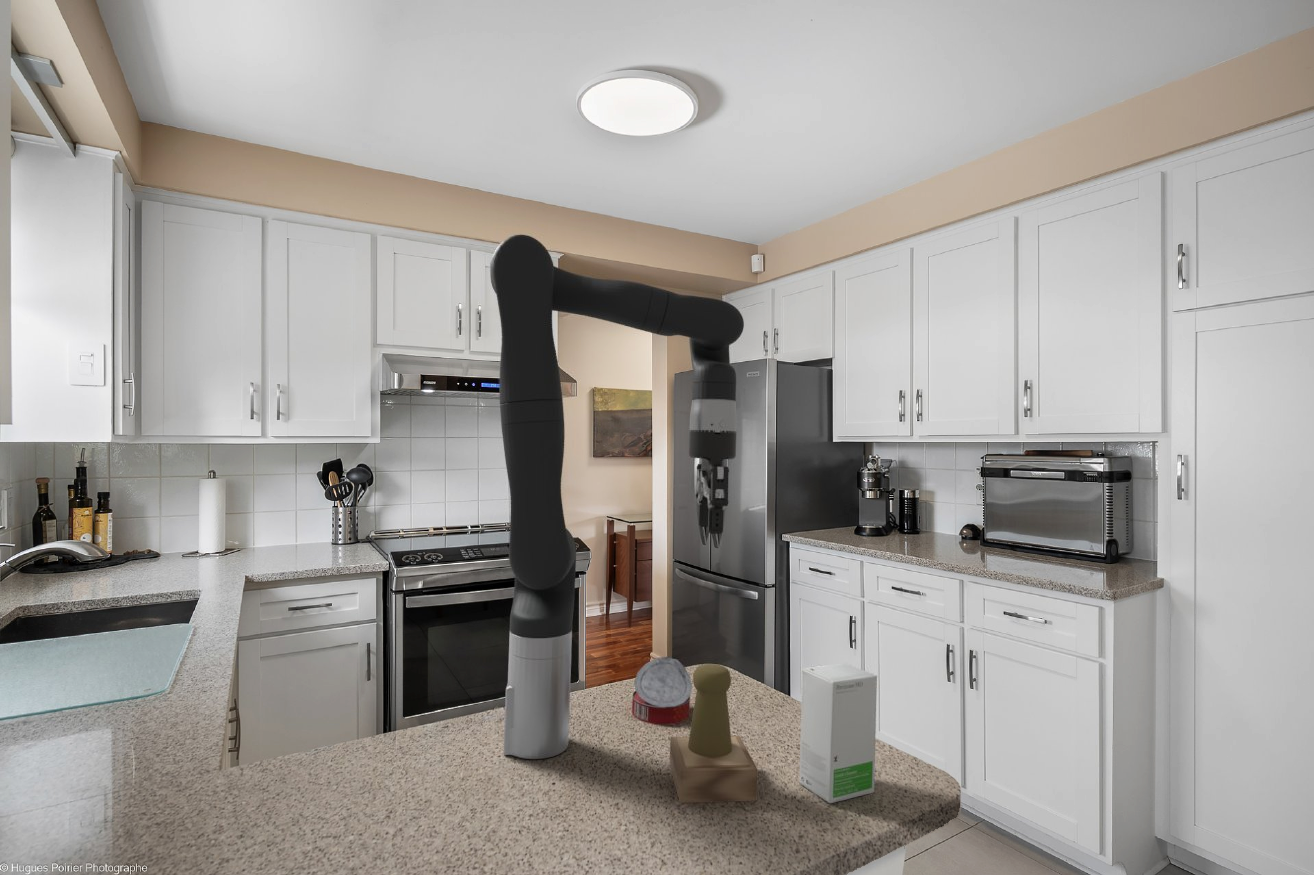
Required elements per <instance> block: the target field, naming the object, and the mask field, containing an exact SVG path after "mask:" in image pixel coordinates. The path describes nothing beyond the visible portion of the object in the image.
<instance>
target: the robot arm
mask: <svg viewBox="0 0 1314 875" xmlns="http://www.w3.org/2000/svg"><path fill="white" fill-rule="evenodd" d="M489 270H490V272H489V273H490V283H491V286H492V289H493V290H494V293H495V294H496V298H497V299H496V300H497V305H498V312H499V313H498V314H499V320H500V328H501V330H500V331H501V345H500V346H501V347H500V361H499V362H500V363H499V409H500V423H501V424H500V426H501V434H502V442H503V451H504V459H505V467H506V472H507V473H506V474H507V479H508V480H507V481H508V485H509V486H508V487H509V493H510V494H509V497H510V498H509V499H510V514H509V516H510V517H509V518H510V521H509V522H510V524H509V525H510V528H509V548H508V561H509V566H510V569H511V570H512V573H513V575H514V592H513V598H512V605H511V608H510V610H511V611H510V615H509V641H508V644H509V646H508V668H507V669H508V670H507V684H506V687H505V702H504V729H503V730H504V732H503V734H504V736H503V755H504V756H513V757H516V758H520V759H527V760H528V759H529V760H538V759H539V760H543V759H547V758H552V757H555V756H557V755H560V754H562V753H563V752H564V751H566V750H567V748H568V746H569V736H570V709H571V708H570V705H571V704H570V703H571V675H572V674H571V669H572V643H573V642H572V639H573V621H574V620H573V618H574V609H575V608H574V607H575V592H576V591H575V590H576V568H577V566H576V565H577V546H576V542H575V539H574V537H573V535H572V533H571V532H570V531H569V529H568V528H567V526H566V522H565V516H564V515H565V514H564V508H563V499H562V478H563V477H562V474H563V465H564V456H565V455H564V454H565V436H566V435H565V414H564V412H565V411H564V402H563V401H564V398H563V392H562V383H561V375H560V374H561V373H560V369H559V361H558V356H557V352H556V351H557V350H556V345H555V340H554V339H555V338H554V333H553V332H554V330H553V312H555V311H556V312H561V313H568V314H574V315H579V316H585V317H589V318H594V319H598V320H601V321H605V322H606V321H607V322H610V323H613V324H616V325H620V326H624V327H628V328H632V329H636V330H640V331H643V332H647V333H651V334H655V335H659V336H665V337H674V336H681V337H686V338H689V351H690V358H691V365H692V372H693V376H692V388H691V389H692V390H691V392H692V394H691V395H692V396H691V406H690V412H689V414H690V415H689V433H688V434H689V437H688V438H689V439H688V440H689V441H688V442H689V443H688V456H689V457H690V458H692V459H701V463H697V466H696V484H695V485H696V486H695V487H696V488H695V489H696V490H695V498H696V499H697V504H698V520H697V521H698V522H697V523H698V526H699V527H700V528H707V532H708V533H709V534H710V535H720V534H722V533H723V532H724V510H725V509H726V507H728V505H729V472H730V469H729V467H728V466H724V462H723V461H724V460H734V459H735V458H736V456H737V430H738V429H737V423H738V422H737V420H738V414H737V406H736V405H737V404H736V400H737V373H736V370H735V368H734V366H732V365H731V361H730V359H731V358H730V346H731V345H732V344H734V343H735V342H736V341H738V340H739V338H740V337H741V336H742V334H743V331H744V329H745V328H744V327H745V323H744V322H745V321H744V317H743V315H742V313H741V311H740V310H739V309H738V308H737V307H736V306H734V305H733V304H732V303H729V302H727V301H724V300H721V299H717V298H712V297H706V296H697V295H691V294H689V295H688V294H680V293H675V292H673V291H671V290H667V289H663V288H660V287H658V286H657V287H656V286H653V285H649V284H645V283H640V282H636V281H630V280H622V279H608V278H607V279H606V278H598V277H596V278H595V277H590V276H584V275H579V274H576V273H573V272H570V271H567V270H564V269H562V268H559V267H557V266H554V262H553V259H552V257H551V254H550V253H549V251H548V249H547V248H546V247H545V246H544V244H542V243H541V241H539V240H538V239H536V238H535V237H533V236H530V235H527V234H513V235H511V236H509V237H507V238H506V239H504V240H503V241H502V242H500V243H499V245H497V247H496V249H495V250H494V252H493V254H492V256H491V259H490V265H489Z"/></svg>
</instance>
